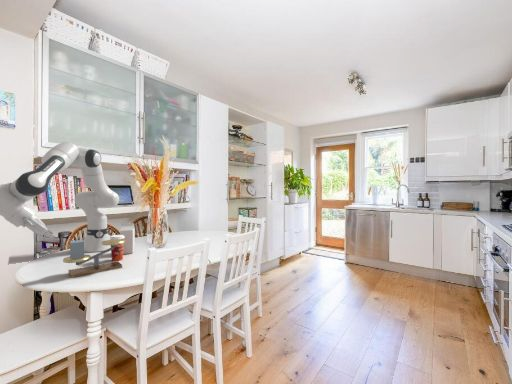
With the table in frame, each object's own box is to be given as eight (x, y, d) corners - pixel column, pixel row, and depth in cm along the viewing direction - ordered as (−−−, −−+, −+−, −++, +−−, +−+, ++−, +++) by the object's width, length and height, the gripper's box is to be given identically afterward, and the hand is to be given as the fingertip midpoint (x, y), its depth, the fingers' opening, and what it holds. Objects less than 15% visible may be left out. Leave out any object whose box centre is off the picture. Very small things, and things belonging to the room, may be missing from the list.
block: (70, 257, 122) (70, 241, 121) (82, 255, 125) (82, 239, 125) (71, 259, 118) (71, 243, 118) (84, 257, 122) (84, 241, 121)
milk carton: (132, 253, 158) (132, 224, 158) (120, 254, 156) (120, 224, 156) (134, 250, 165) (134, 222, 164) (122, 251, 163) (123, 222, 162)
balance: (61, 273, 122) (61, 245, 122) (122, 262, 141) (122, 238, 140) (64, 280, 114) (64, 250, 114) (128, 267, 133) (128, 241, 132)
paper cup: (118, 262, 141) (118, 237, 141) (106, 260, 143) (106, 236, 142) (127, 258, 149) (127, 234, 148) (116, 257, 150) (116, 234, 150)
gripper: (31, 213, 102) (61, 234, 109) (29, 209, 117) (56, 228, 123) (16, 225, 99) (48, 246, 106) (16, 219, 114) (44, 238, 121)
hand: (52, 236), depth 115 cm, fingers open, 8 cm apart
